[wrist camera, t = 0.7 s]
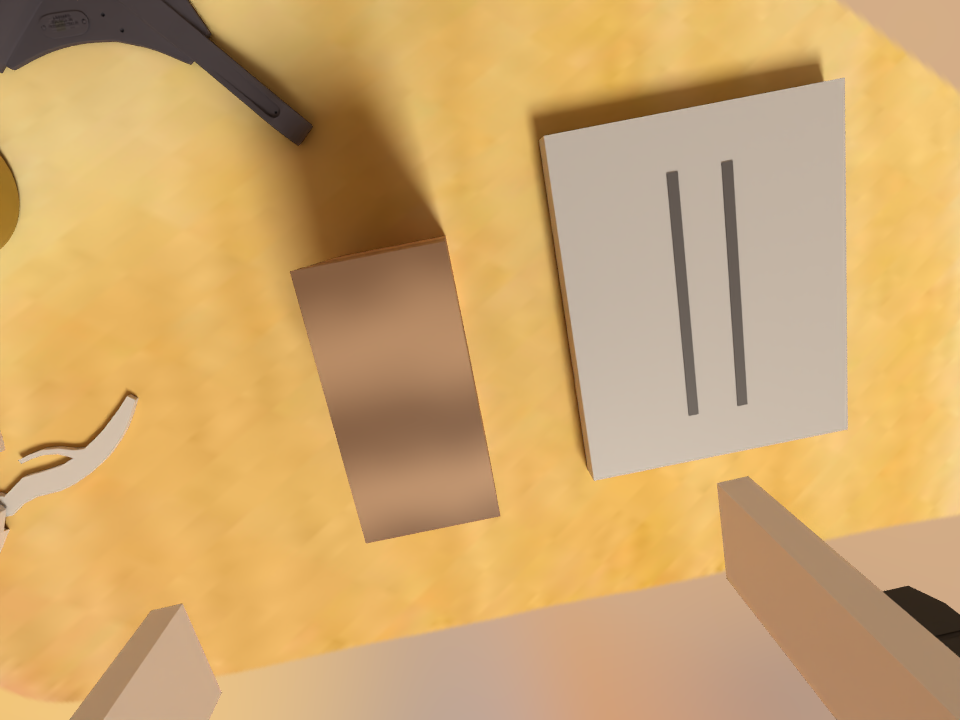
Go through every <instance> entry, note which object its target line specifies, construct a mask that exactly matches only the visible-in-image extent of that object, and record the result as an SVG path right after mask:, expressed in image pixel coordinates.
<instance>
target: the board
mask: <svg viewBox="0 0 960 720" xmlns="http://www.w3.org/2000/svg"><path fill="white" fill-rule="evenodd" d="M539 145H540V152H541V159H542V165H543V172H544V179H545V186H546V192H547V199H548V206H549V212H550V219H551V226H552V233H553V239H554V246H555V253H556V260H557V266H558V273H559V280H560V286H561V293H562V300H563V307H564V313H565V320H566V327H567V333H568V340H569V347H570V354H571V360H572V367H573V374H574V380H575V387H576V394H577V401H578V407H579V414H580V421H581V428H582V434H583V441H584V448H585V454H586V461H587V468H588V471H589V473H590V474H591V476H592V478H593V480H594V481H595V480H600V479H605V478H610V477H615V476H620V475H625V474H630V473H634V472H639V471H644V470H649V469H654V468H659V467H664V466H669V465H674V464H679V463H684V462H689V461H694V460H699V459H704V458H709V457H714V456H719V455H723V454H728V453H733V452H738V451H743V450H748V449H753V448H758V447H763V446H768V445H773V444H778V443H783V442H788V441H793V440H798V439H803V438H807V437H812V436H817V435H822V434H827V433H832V432H837V431H842V430H847V429H848V408H847V292H846V177H845V78H840V79H835V80H830V81H825V82H820V83H814V84H809V85H804V86H799V87H794V88H789V89H783V90H778V91H773V92H768V93H763V94H758V95H752V96H747V97H742V98H737V99H732V100H727V101H721V102H716V103H711V104H706V105H701V106H696V107H690V108H685V109H680V110H675V111H670V112H665V113H659V114H654V115H649V116H644V117H639V118H634V119H628V120H623V121H618V122H613V123H608V124H603V125H597V126H592V127H587V128H582V129H577V130H572V131H566V132H561V133H556V134H551V135H546V136H543V137H542V138H541V139H540V140H539Z"/></svg>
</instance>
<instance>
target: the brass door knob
mask: <svg viewBox="0 0 960 720" xmlns="http://www.w3.org/2000/svg"><path fill="white" fill-rule="evenodd" d="M18 217H19V196H18V190H17V187H16V183H15V180H14V178H13V176H12V173H11V171H10V169H9V168H8V166H7V164H6V163H5V161H4V160H3V158H2V157H1V156H0V249H1V248H2V247H3V246H4V245H5V244H6V243H7V242H8V240H9V239H10V238H11V236H12V234H13V232H14V230H15V228H16V225H17V221H18Z"/></svg>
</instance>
